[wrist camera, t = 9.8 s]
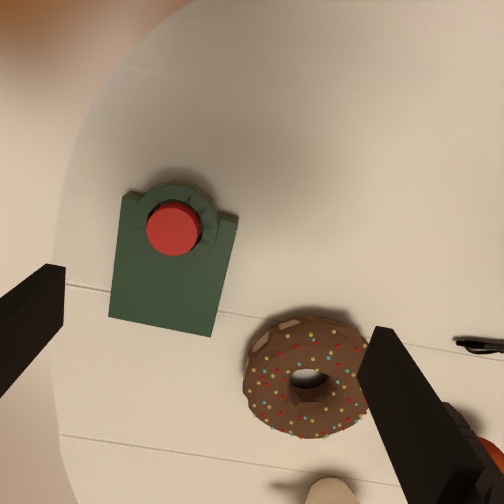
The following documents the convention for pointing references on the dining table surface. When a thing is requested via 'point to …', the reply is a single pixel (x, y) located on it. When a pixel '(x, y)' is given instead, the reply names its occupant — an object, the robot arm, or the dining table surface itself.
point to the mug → (330, 492)
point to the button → (173, 229)
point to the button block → (171, 263)
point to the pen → (481, 346)
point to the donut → (306, 357)
